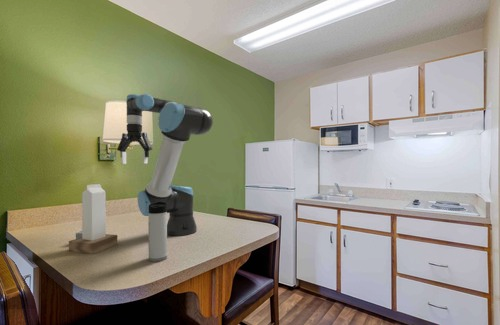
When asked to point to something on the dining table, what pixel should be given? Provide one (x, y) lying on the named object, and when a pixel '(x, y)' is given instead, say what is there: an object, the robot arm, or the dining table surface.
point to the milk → (93, 212)
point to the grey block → (79, 235)
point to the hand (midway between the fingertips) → (134, 163)
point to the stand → (92, 244)
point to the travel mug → (157, 231)
